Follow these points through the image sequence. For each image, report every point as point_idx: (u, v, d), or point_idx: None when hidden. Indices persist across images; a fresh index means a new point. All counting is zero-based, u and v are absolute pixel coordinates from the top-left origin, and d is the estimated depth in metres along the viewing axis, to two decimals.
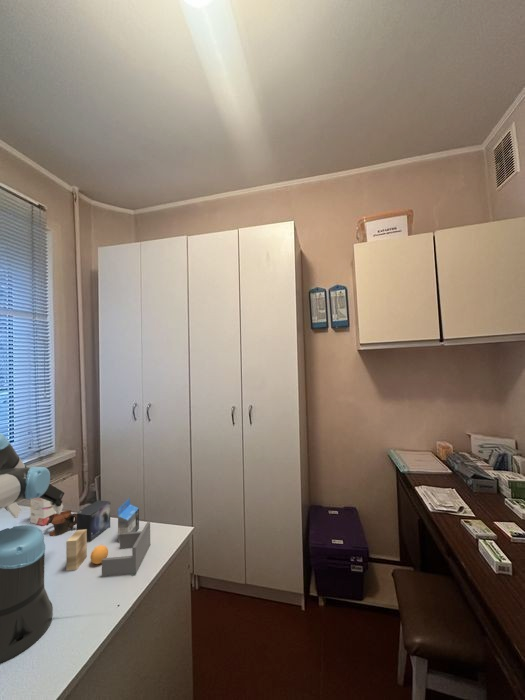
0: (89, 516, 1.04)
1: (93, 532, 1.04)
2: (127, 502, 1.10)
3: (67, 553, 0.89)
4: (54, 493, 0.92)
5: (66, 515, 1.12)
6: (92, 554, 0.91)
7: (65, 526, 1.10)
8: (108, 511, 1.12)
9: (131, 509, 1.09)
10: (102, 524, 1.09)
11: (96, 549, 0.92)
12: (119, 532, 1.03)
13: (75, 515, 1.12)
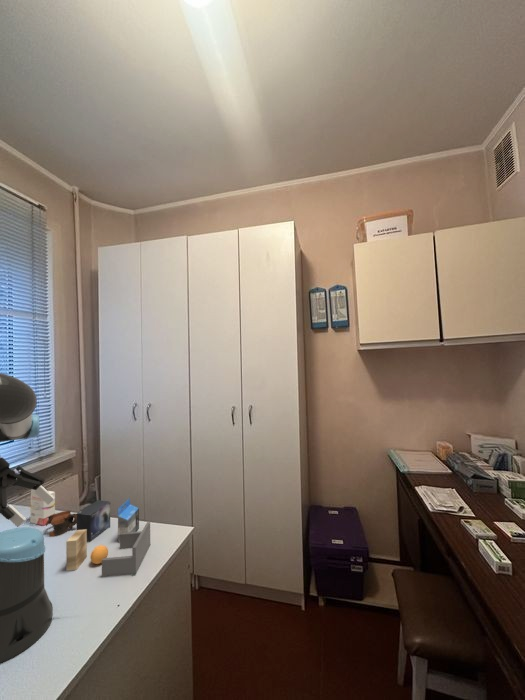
0: (89, 516, 1.04)
1: (93, 532, 1.04)
2: (127, 502, 1.10)
3: (67, 553, 0.89)
4: None
5: (65, 515, 1.12)
6: (92, 554, 0.91)
7: (65, 527, 1.10)
8: (108, 511, 1.12)
9: (131, 509, 1.09)
10: (102, 524, 1.09)
11: (96, 549, 0.92)
12: (119, 532, 1.03)
13: (74, 515, 1.12)
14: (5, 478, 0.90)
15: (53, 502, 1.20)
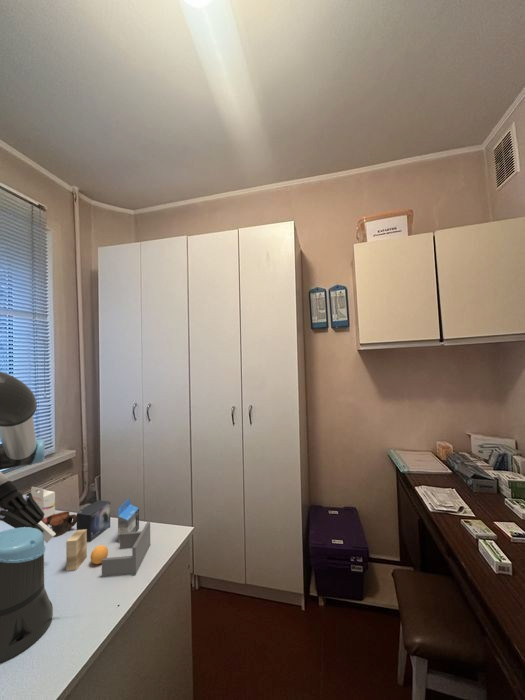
0: (89, 516, 1.04)
1: (93, 532, 1.04)
2: (127, 502, 1.10)
3: (67, 553, 0.89)
4: None
5: (64, 516, 1.11)
6: (92, 554, 0.91)
7: (64, 527, 1.09)
8: (108, 511, 1.12)
9: (131, 509, 1.09)
10: (102, 524, 1.09)
11: (96, 549, 0.92)
12: (119, 532, 1.03)
13: (73, 516, 1.12)
14: (15, 501, 0.91)
15: (53, 502, 1.20)
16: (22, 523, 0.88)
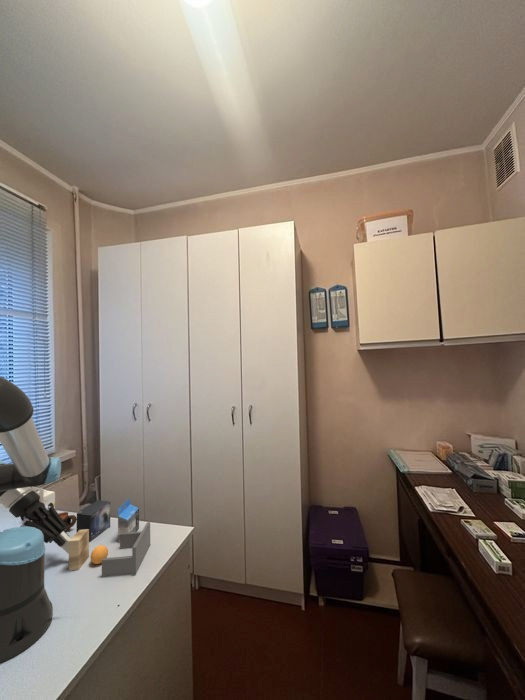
0: (89, 516, 1.04)
1: (93, 532, 1.04)
2: (127, 502, 1.10)
3: (69, 553, 0.89)
4: None
5: (63, 517, 1.11)
6: (92, 554, 0.91)
7: None
8: (108, 511, 1.12)
9: (131, 509, 1.09)
10: (102, 524, 1.09)
11: (96, 549, 0.92)
12: (119, 532, 1.03)
13: (72, 517, 1.11)
14: (38, 511, 0.92)
15: (53, 502, 1.20)
16: (46, 534, 0.89)
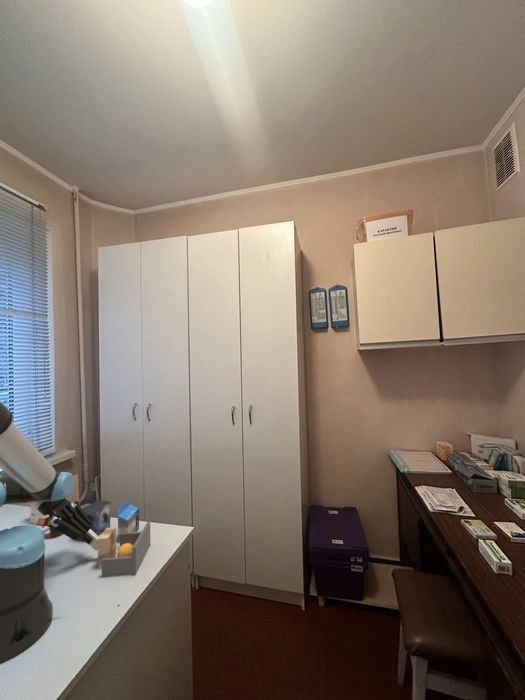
0: (89, 516, 1.04)
1: None
2: (127, 502, 1.10)
3: (98, 550, 0.90)
4: None
5: None
6: None
7: None
8: (108, 511, 1.12)
9: (131, 509, 1.09)
10: (102, 524, 1.09)
11: None
12: (119, 532, 1.03)
13: None
14: (66, 509, 0.92)
15: None
16: (74, 531, 0.90)
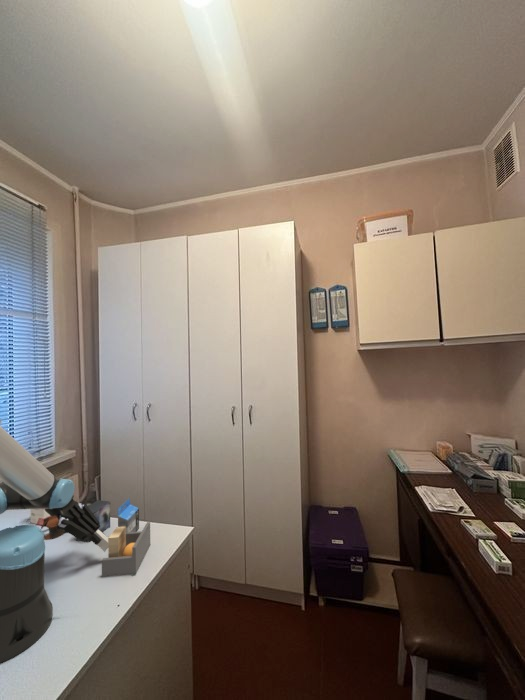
0: None
1: None
2: (127, 502, 1.10)
3: (109, 550, 0.90)
4: None
5: None
6: None
7: (61, 529, 1.08)
8: (108, 511, 1.12)
9: (131, 509, 1.09)
10: (102, 524, 1.09)
11: None
12: None
13: None
14: (73, 510, 0.92)
15: None
16: (82, 532, 0.89)
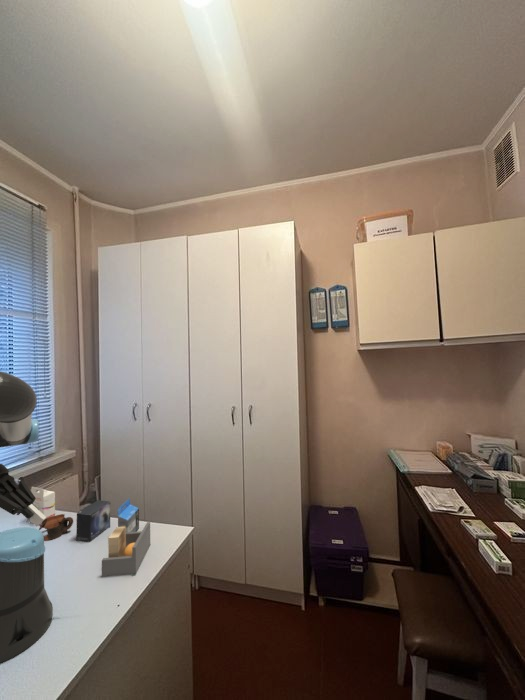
0: (89, 516, 1.04)
1: (93, 532, 1.04)
2: (127, 502, 1.10)
3: (109, 550, 0.90)
4: None
5: (59, 519, 1.09)
6: None
7: (59, 530, 1.07)
8: (108, 511, 1.12)
9: (131, 509, 1.09)
10: (102, 524, 1.09)
11: None
12: None
13: (69, 519, 1.10)
14: (5, 483, 0.91)
15: (53, 502, 1.20)
16: (12, 505, 0.88)
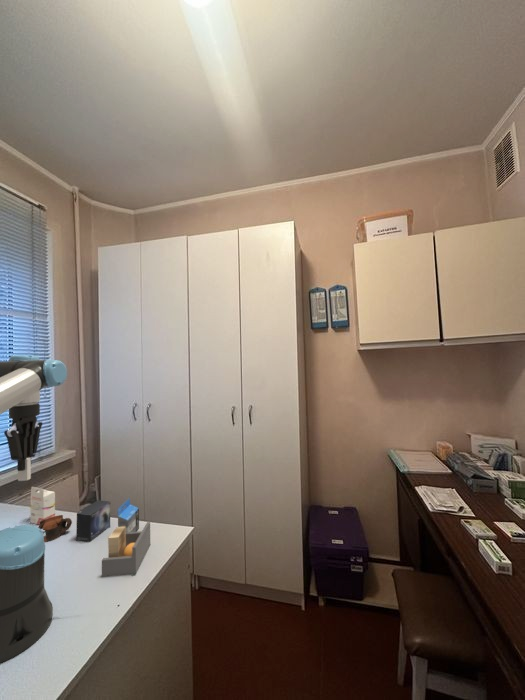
0: (89, 516, 1.04)
1: (93, 532, 1.04)
2: (127, 502, 1.10)
3: (109, 550, 0.90)
4: None
5: (58, 520, 1.09)
6: None
7: (57, 532, 1.07)
8: (108, 511, 1.12)
9: (131, 509, 1.09)
10: (102, 524, 1.09)
11: None
12: None
13: (67, 520, 1.09)
14: (28, 426, 0.89)
15: (53, 502, 1.20)
16: (18, 452, 0.86)
